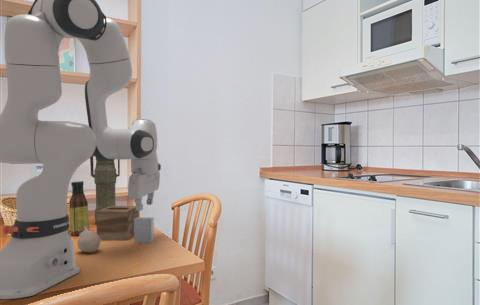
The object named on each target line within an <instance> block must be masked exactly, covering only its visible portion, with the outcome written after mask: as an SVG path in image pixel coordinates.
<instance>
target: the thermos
mask: <svg viewBox="0 0 480 305" xmlns="http://www.w3.org/2000/svg"><path fill="white" fill-rule="evenodd" d="M94 157H95V156H94V155H92V156H91V157H90V158H89V162H90V163H89V164H90V176H91V177H92V178H93V179H94V184H95V210H94V220H95V223H94V224H95V225H96V226H97V217H96V211H99V210H101V209H104V208H107V207H109V206H117V205H116V183H117V178H118V177H120V173H121V172H120V171H121V170H120V168H121V167H120V164H121V162H120V160H121V159H117V168H116V165H115V164H116V163H115V160H116V159H112V160H99V159H97V158H96V157H95V162H96V163H95V167H94Z"/></svg>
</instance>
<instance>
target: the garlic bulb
mask: <svg viewBox="0 0 480 305" xmlns="http://www.w3.org/2000/svg"><path fill="white" fill-rule="evenodd" d="M84 228H85V230H84V231H83V232H81V233H80V235H79V236H78V239H77V247H78V249H79V250H80V251H81V252H83V253H94V252H96V251H98V249H99V248H100V245H101V241H102V240H101V239H100V237H99V235H98V234H97V231H93V230H90V229H89V230H88V229H87V227H86V226H84Z"/></svg>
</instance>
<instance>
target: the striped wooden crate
mask: <svg viewBox="0 0 480 305" xmlns="http://www.w3.org/2000/svg"><path fill="white" fill-rule="evenodd" d="M139 213H140V211H137V210H136V205H116V206H109V207H107V208H104V209H101V210H99V211H96V217H97V225H96V233H97V234H98V235H99V237H100V239H101V241H128V240H130V239H131V238H132V237H133V238H134V219H135V218H137V217H140V214H139Z"/></svg>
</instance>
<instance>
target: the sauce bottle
mask: <svg viewBox="0 0 480 305" xmlns="http://www.w3.org/2000/svg"><path fill="white" fill-rule="evenodd" d="M84 183H85V182H84V181H83V180H77V181H71V190H72V192H71V193H72V195H71V197H70V198H69V227H70V232H71V234H70V235H71V236H76V237H77V236H78V237H79V235H80V233H81V232H83V231H84V230H85V228H84V226H86V227H87V229H88V230H89V231H90V220H89V218H90V216H89V203H88V200H87V198H86V195H85V192H84Z"/></svg>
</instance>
